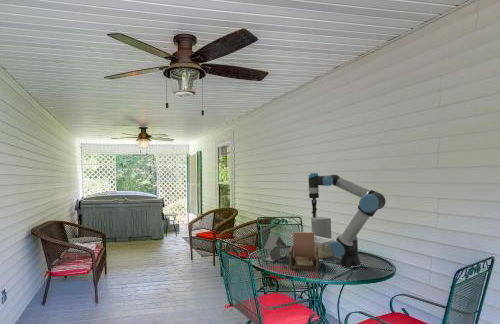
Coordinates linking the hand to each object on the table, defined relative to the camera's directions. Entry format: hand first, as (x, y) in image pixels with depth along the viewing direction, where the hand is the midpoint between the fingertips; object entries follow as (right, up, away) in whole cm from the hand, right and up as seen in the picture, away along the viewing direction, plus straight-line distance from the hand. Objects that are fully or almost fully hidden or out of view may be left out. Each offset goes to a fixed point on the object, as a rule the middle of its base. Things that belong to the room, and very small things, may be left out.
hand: (314, 219), depth 257 cm
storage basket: (+8, -35, +23) cm, 42 cm away
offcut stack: (-10, -34, -11) cm, 37 cm away
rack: (-9, -35, -6) cm, 37 cm away
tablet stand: (-29, -36, +17) cm, 50 cm away
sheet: (-8, -34, -1) cm, 35 cm away
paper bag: (+13, -35, +46) cm, 59 cm away
